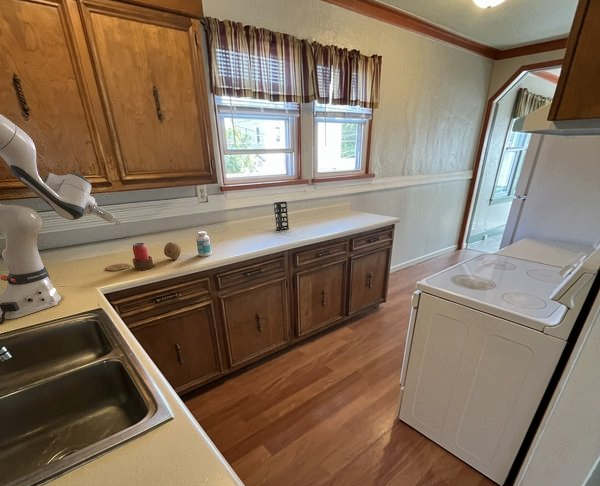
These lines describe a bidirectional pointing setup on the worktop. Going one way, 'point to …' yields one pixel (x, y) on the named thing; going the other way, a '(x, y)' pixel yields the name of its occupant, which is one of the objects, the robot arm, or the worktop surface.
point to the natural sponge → (172, 250)
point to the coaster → (117, 267)
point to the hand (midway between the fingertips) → (114, 221)
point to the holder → (279, 215)
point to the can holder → (143, 264)
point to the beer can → (140, 252)
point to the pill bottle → (203, 244)
